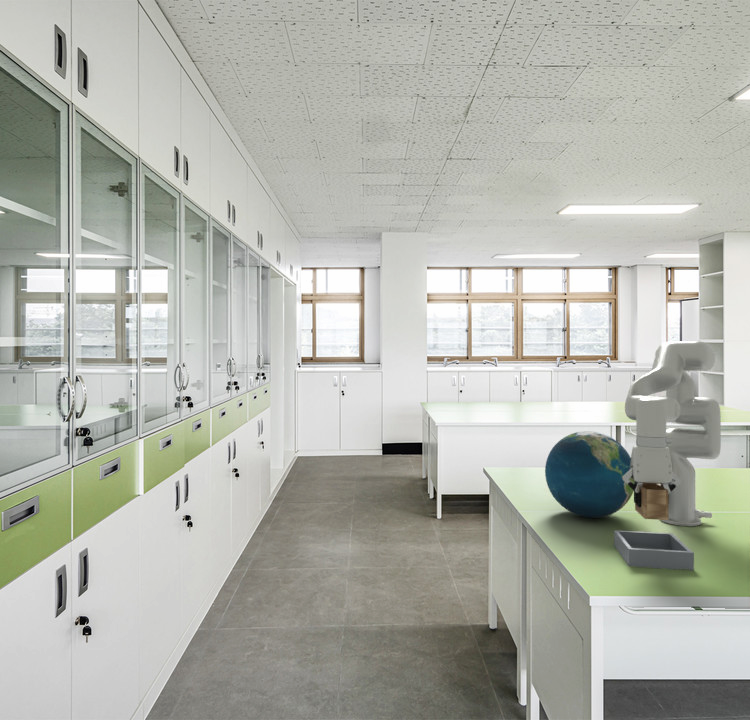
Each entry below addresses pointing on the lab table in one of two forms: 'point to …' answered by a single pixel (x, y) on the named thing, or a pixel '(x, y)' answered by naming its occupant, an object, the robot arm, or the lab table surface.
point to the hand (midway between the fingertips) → (651, 505)
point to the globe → (589, 474)
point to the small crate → (654, 502)
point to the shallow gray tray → (653, 550)
